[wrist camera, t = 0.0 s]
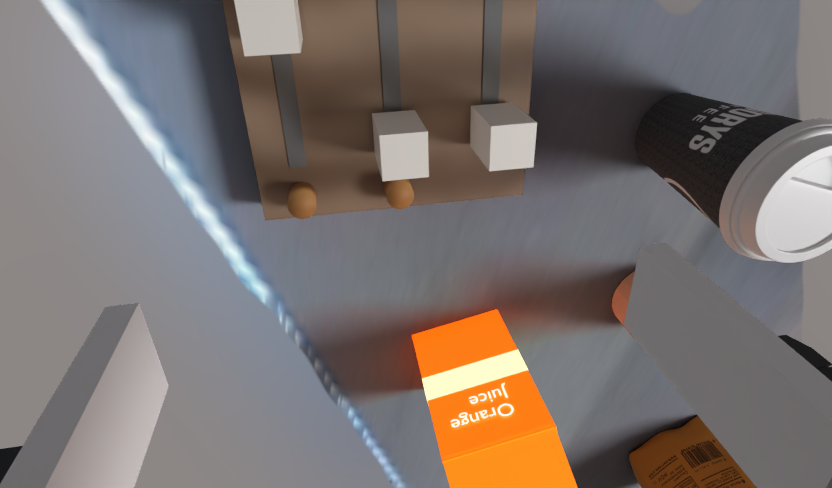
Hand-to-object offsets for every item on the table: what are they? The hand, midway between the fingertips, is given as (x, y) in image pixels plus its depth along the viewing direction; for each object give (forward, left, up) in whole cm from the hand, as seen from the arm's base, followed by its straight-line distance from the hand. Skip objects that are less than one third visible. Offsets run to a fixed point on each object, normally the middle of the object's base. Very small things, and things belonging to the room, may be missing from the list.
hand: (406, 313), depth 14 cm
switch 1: (-5, -4, -25) cm, 26 cm away
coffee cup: (+6, +27, -28) cm, 39 cm away
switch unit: (-1, +3, -28) cm, 28 cm away
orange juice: (+27, +9, -28) cm, 40 cm away
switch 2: (+3, +3, -25) cm, 25 cm away
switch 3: (+3, +10, -25) cm, 27 cm away
